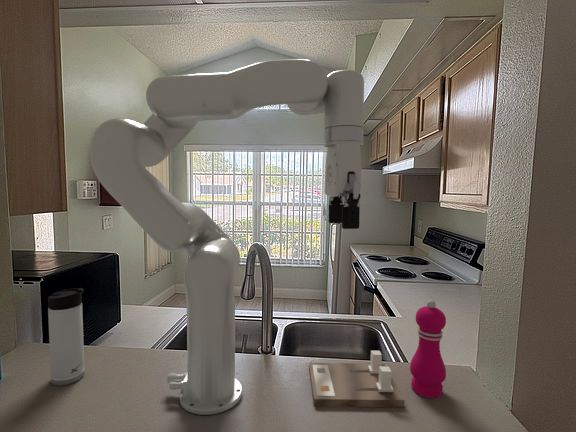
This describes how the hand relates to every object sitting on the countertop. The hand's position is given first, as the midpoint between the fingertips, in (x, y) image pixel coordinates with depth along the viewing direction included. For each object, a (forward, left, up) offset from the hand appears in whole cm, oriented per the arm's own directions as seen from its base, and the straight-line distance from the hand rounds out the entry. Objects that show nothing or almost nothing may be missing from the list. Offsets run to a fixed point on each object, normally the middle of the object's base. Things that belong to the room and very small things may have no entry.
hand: (342, 225), depth 68 cm
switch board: (+4, +4, -36) cm, 36 cm away
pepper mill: (+20, +3, -36) cm, 41 cm away
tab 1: (+10, +7, -34) cm, 36 cm away
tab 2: (+10, 0, -34) cm, 36 cm away
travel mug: (-59, +6, -36) cm, 70 cm away
